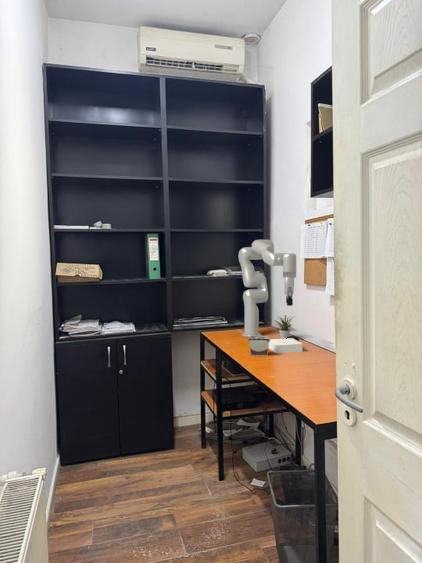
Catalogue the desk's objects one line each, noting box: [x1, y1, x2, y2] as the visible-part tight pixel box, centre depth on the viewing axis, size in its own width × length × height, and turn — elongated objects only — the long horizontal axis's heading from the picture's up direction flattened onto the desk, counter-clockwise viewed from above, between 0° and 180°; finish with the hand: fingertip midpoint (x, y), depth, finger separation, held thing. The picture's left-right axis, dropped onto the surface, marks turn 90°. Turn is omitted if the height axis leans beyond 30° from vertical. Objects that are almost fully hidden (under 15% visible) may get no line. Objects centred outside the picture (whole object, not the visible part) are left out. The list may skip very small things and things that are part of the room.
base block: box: [268, 337, 303, 354], centre depth 224 cm, size 14×16×5 cm
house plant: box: [273, 314, 297, 339], centre depth 249 cm, size 14×14×16 cm
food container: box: [248, 335, 270, 357], centre depth 214 cm, size 12×6×10 cm, turn 84°
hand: (289, 304), depth 221 cm, fingers open, 9 cm apart
